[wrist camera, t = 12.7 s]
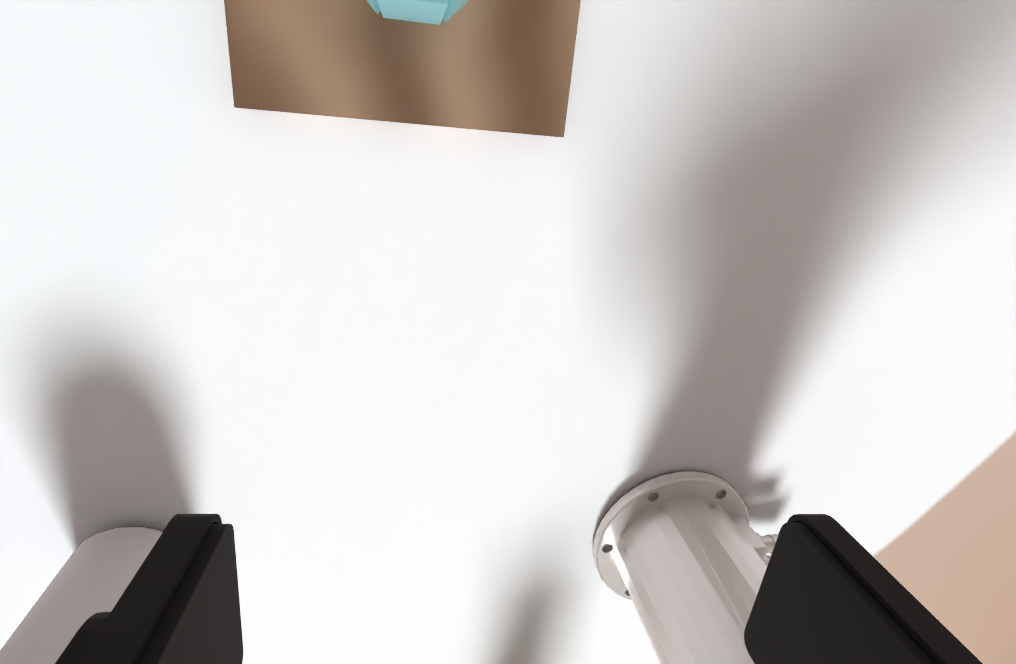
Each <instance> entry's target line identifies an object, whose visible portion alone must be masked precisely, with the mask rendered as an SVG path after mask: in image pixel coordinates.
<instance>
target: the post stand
mask: <svg viewBox="0 0 1016 664" xmlns="http://www.w3.org/2000/svg"><path fill="white" fill-rule="evenodd" d="M224 4H225V14H226V25H227V35H228V45H229V56H230V66H231V76H232V87H233V97H234V107H236V108H247V109H258V110H269V111H280V112H291V113H302V114H313V115H324V116H335V117H346V118H357V119H368V120H379V121H390V122H401V123H412V124H423V125H434V126H445V127H456V128H467V129H478V130H489V131H500V132H511V133H522V134H533V135H544V136H555V137H564V129H565V121H566V113H567V105H568V97H569V89H570V81H571V73H572V65H573V57H574V49H575V40H576V32H577V24H578V16H579V8H580V0H469V1H468V2H467V3H466V4H465V5H464V6H463V7H462V8H461V9H460V10H459V11H458V12H457V13H456V14H455V15H453V16H452V17H451V18H450V19H449V20H448V21H447V22H446V23H445V21H444V20H443V19H442V21H441V24H440V25H437V24H429V23H421V22H413V21H405V20H397V19H388V18H383V16H382V13H381V12H380V13H379V14H377V13H376V12H375V11H374V10H373V8H372V7H371V6H370V5H369V3H368V2H367V1H366V0H224Z"/></svg>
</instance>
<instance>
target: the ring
mask: <svg viewBox="0 0 1016 664" xmlns="http://www.w3.org/2000/svg"><path fill="white" fill-rule="evenodd" d="M366 1H367V2H368V3H369V5H370V6H371V7H372V8H373V10H374V11H375V12H376V13H377V14H379V13H380V12H381V13H382V16H383V18H388V19H397V20H405V21H413V22H421V23H429V24H437V25H440V24H441V21H442V19H443V20H444V21H445V23H446V22H447V21H448V20H449V19H450V18H451V17H452V16H453V15H455V14H456V13H457V12H458V11H459V10H460V9H461V8H462V7H463V6H464V5H465V4H466V3H467V2H468V1H469V0H366Z"/></svg>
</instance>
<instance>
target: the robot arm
mask: <svg viewBox="0 0 1016 664" xmlns="http://www.w3.org/2000/svg"><path fill="white" fill-rule="evenodd" d="M766 553H772V555H766ZM593 556H594V560H595V564H596V567H597V569H598V572H599V574H600V576H601V579H602V580H603V581H604V583H605V584H606V585H607V587H609V588H610V589H611V590H612V591H614V592H615V593H616V594H618V595H620V596H622V597H624V598H627V599H631V600H632V601H633V603H634V605H635V607H636V610H637V612H638V614H639V616H640V619H641V621H642V623H643V626H644V628H645V630H646V632H647V635H648V637H649V639H650V641H651V644H652V646H653V648H654V651H655V653H656V655H657V657H658V660H659V662H660V664H982V663H981V662H980V661H979V660H978V659H977V658H976V657H975V656H974V655H973V654H972V653H971V652H970V651H969V650H968V649H967V648H966V647H965V646H964V645H963V644H962V643H961V642H960V641H959V640H958V639H957V638H956V637H955V636H953V634H951V632H949V631H948V630H947V629H946V628H945V627H944V626H943V625H942V624H941V623H940V622H939V621H938V620H937V619H936V618H935V617H934V616H933V615H932V614H931V613H930V612H929V611H928V610H927V609H926V608H925V607H924V606H923V605H922V604H921V603H920V602H919V601H918V600H917V599H915V597H913V595H911V594H910V592H908V591H907V590H906V589H905V588H904V587H903V586H902V585H901V584H900V583H899V582H898V581H897V580H896V579H895V578H894V577H893V576H892V575H891V574H890V573H889V572H888V571H887V570H886V569H885V568H884V567H883V566H882V565H881V564H880V563H879V562H878V561H877V560H876V559H875V558H874V557H873V556H872V555H871V554H870V553H869V552H867V551H866V550H865V549H864V548H863V547H862V546H861V545H860V544H859V543H858V542H857V541H856V540H855V539H854V538H853V537H852V536H851V535H850V534H849V533H848V532H847V531H846V530H845V529H844V528H843V527H842V526H841V525H840V524H839V523H838V522H837V521H836V520H835V519H833V518H832V517H830V516H828V515H825V514H797V515H793V516H792V517H790V518H789V520H788V522H787V523H785V524H784V525H783V526H782V527H781V529H780V532H779V534H773V535H766V536H760V535H759V534H757V533H755V532H754V530H753V529H752V528H751V527H750V525H749V517H748V512H747V509H746V506H745V503H744V502H743V500H742V499H741V497H740V496H739V495H738V493H737V492H736V491H735V490H734V489H733V488H732V487H731V486H730V485H729V484H728V483H727V482H725V481H724V480H722V479H721V478H719V477H716V476H713V475H711V474H708V473H702V472H695V471H688V472H675V473H670V474H665V475H662V476H659V477H656V478H653V479H650V480H648V481H646V482H644V483H642V484H640V485H638V486H637V487H635V488H633V489H632V490H630V491H629V492H628V493H626V494H625V495H624V496H622V497H621V498H620V499H619V500H618V501H617V502H616V503H615V504H614V505H613V506H612V507H611V508H610V509H609V511H608V512H607V513H606V515H605V516H604V518H603V519H602V521H601V523H600V525H599V527H598V529H597V531H596V535H595V539H594V543H593ZM242 660H243V642H242V629H241V617H240V604H239V592H238V579H237V566H236V554H235V541H234V530H233V526H232V525H231V524H222V522H221V518H220V516H219V515H218V514H177V515H175V516H174V517H173V518H172V519H171V521H170V522H169V523H168V525H167V527H166V528H165V530H164V531H163V533H162V534H161V536H160V537H159V539H158V540H157V542H156V543H155V545H154V546H153V548H152V550H151V551H150V553H149V554H148V556H147V557H146V559H145V560H144V562H143V563H142V565H141V566H140V568H139V570H138V571H137V573H136V574H135V576H134V577H133V579H132V580H131V582H130V583H129V585H128V586H127V588H126V589H125V591H124V593H123V594H122V596H121V597H120V599H119V600H118V602H117V603H116V605H115V606H114V608H113V609H112V611H111V612H99V613H95V614H94V615H92V616H91V617H89V618H88V619H87V620H86V621H85V622H84V624H83V625H82V626H81V627H80V628H79V630H78V631H77V632H76V634H75V635H74V637H73V638H72V640H71V641H70V642H69V644H68V645H67V647H66V648H65V650H64V651H63V653H62V654H61V655H60V657H59V658H58V660H57V661H56V663H55V664H242Z"/></svg>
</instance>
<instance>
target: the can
mask: <svg viewBox="0 0 1016 664" xmlns="http://www.w3.org/2000/svg"><path fill="white" fill-rule="evenodd" d="M162 533H163V532H162V531H160V530H156V529H151V528H146V527H124V528H114V529H110V530H106V531H102V532H98V533H96V534H95V535H93V536H91V537H89V538H88V539H86V540H84V541H83V542H82V543H81V544H80V545H79V547H78V548H77V549H76V550H75V551H74V553H73V554H72V555H71V557H70V558H69V559H68V561H67V562H66V563H65V565H64V566H63V567H62V569H61V570H60V571H59V573H58V574H57V575H56V577H55V578H54V579H53V581H52V582H51V583H50V585H49V586H48V587H47V589H46V590H45V591H44V593H43V594H42V595H41V597H40V598H39V599H38V601H37V602H36V603H35V605H34V606H33V607H32V609H31V610H30V612H29V613H28V614H27V616H26V617H25V618H24V620H23V621H22V622H21V624H20V625H19V626H18V628H17V629H16V630H15V632H14V633H13V634H12V636H11V637H10V638H9V640H8V641H7V642H6V644H5V645H4V646H3V648H2V649H1V650H0V664H55V663H56V661H57V660H58V658H59V657H60V655H61V654H62V653H63V651H64V650H65V648H66V647H67V645H68V644H69V642H70V641H71V640H72V638H73V637H74V635H75V634H76V632H77V631H78V630H79V628H80V627H81V626H82V625H83V624H84V622H85V621H86V620H87V619H88V618H89V617H91V616H92V615H94V614H95V613H99V612H111V611H112V609H113V608H114V606H115V605H116V603H117V602H118V600H119V599H120V597H121V596H122V594H123V593H124V591H125V589H126V588H127V586H128V585H129V583H130V582H131V580H132V579H133V577H134V576H135V574H136V573H137V571H138V570H139V568H140V566H141V565H142V563H143V562H144V560H145V559H146V557H147V556H148V554H149V553H150V551H151V550H152V548H153V546H154V545H155V543H156V542H157V540H158V539H159V537H160V536H161V534H162Z"/></svg>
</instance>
